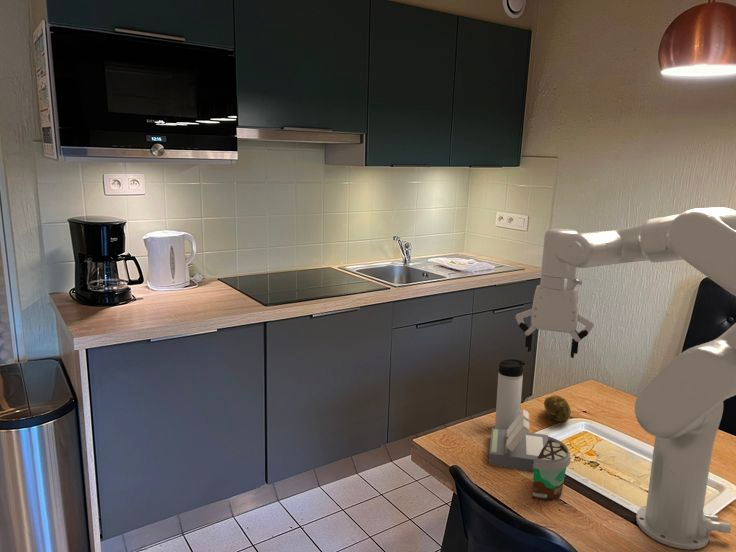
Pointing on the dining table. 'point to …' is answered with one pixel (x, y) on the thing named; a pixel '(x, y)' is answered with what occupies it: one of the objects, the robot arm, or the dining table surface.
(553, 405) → the potato
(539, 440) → the panel
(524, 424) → the paddle
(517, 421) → the paddle on
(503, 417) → the travel mug
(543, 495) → the food container
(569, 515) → the dining table surface
